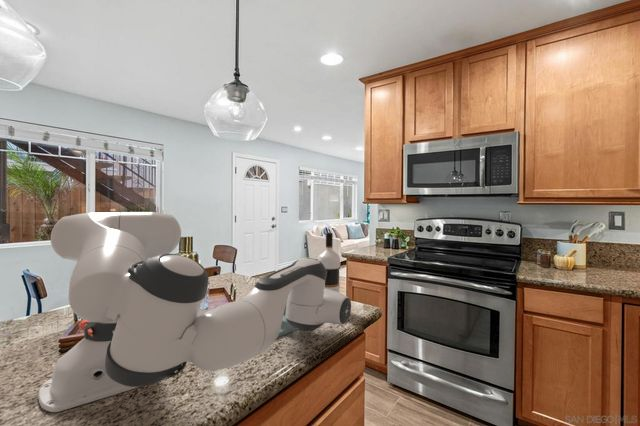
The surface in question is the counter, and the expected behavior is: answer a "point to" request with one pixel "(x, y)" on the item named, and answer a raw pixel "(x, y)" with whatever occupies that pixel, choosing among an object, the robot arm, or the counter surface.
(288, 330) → the board
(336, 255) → the vodka
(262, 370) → the counter surface
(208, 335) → the robot arm
